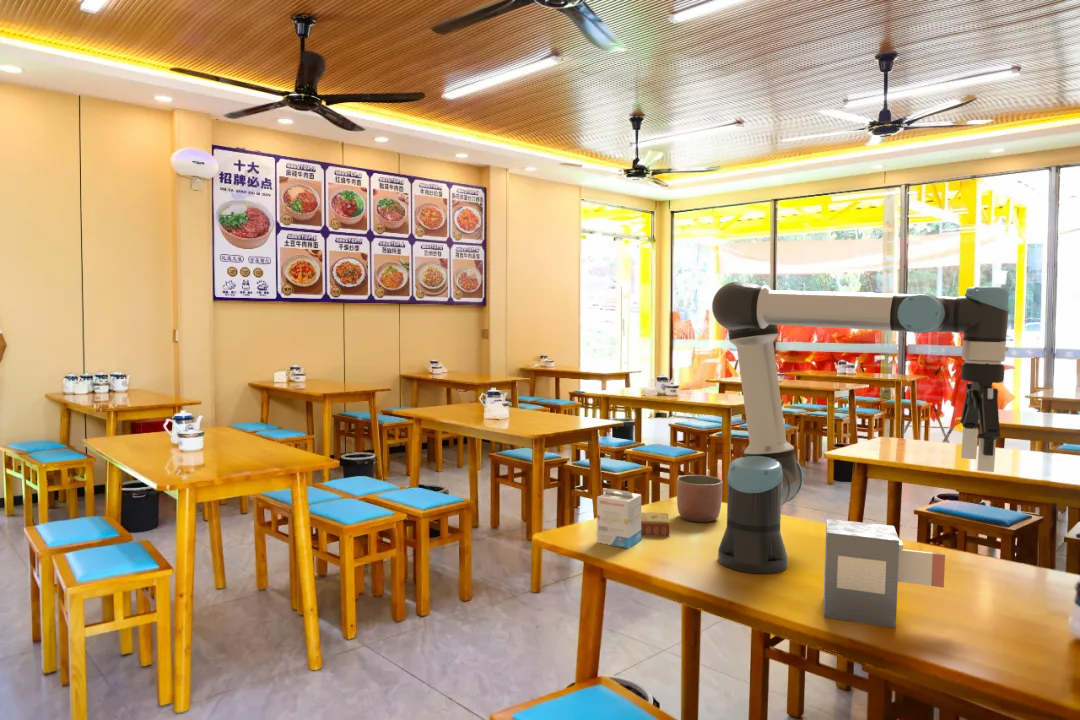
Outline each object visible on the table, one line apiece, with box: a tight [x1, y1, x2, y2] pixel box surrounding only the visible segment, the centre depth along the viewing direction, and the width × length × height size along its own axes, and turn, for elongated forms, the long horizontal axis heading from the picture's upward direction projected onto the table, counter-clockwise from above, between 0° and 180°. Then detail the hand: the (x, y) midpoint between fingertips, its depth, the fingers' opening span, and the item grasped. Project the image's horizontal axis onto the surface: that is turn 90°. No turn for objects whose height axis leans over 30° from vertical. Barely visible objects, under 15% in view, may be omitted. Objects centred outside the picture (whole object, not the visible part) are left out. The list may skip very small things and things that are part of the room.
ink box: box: [596, 487, 642, 549], centre depth 176 cm, size 9×8×13 cm
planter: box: [676, 474, 724, 523], centre depth 198 cm, size 12×12×11 cm
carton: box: [641, 512, 670, 537], centre depth 186 cm, size 8×16×4 cm, turn 82°
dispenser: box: [823, 518, 904, 629], centre depth 134 cm, size 13×10×16 cm
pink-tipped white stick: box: [898, 548, 946, 589], centre depth 132 cm, size 18×1×6 cm, turn 69°
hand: (976, 464), depth 147 cm, fingers open, 13 cm apart
